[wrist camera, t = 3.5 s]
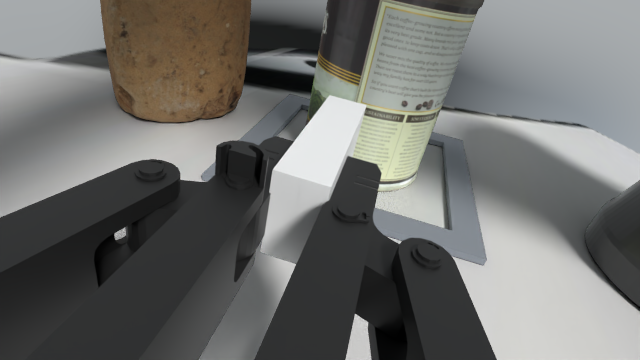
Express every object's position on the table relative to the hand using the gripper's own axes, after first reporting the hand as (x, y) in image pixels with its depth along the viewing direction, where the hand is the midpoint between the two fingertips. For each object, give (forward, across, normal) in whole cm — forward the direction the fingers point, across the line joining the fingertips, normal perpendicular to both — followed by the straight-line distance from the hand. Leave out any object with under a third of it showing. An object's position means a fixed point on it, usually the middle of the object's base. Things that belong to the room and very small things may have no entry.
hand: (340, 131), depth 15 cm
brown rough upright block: (+15, -16, -9) cm, 24 cm away
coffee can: (+15, +1, -9) cm, 18 cm away
